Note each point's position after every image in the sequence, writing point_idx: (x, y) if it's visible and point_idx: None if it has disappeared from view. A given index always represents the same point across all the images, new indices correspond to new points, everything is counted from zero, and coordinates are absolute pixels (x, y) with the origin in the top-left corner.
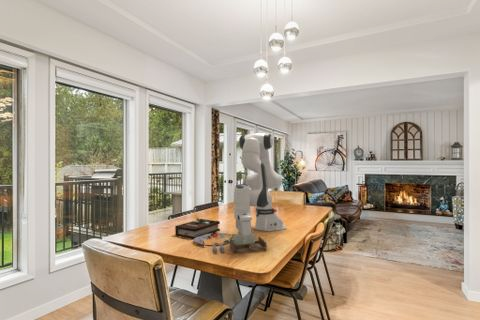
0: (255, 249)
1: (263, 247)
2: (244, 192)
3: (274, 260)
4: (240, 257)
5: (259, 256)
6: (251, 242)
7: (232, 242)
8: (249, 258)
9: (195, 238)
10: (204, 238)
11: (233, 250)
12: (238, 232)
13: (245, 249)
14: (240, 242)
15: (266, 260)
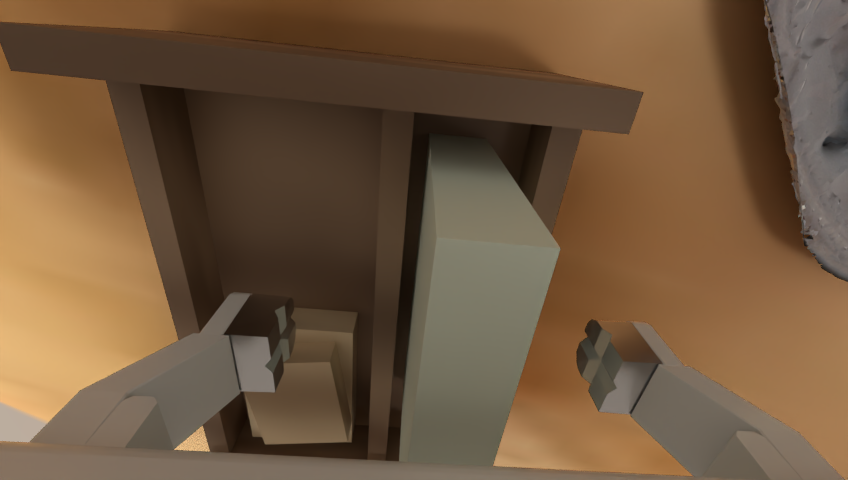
0: None
1: (207, 441)
2: None
3: (24, 396)
4: (100, 110)
5: (142, 326)
6: (404, 399)
7: (298, 67)
8: (64, 211)
9: None
10: None
11: (188, 35)
12: (731, 404)
13: (156, 243)
14: (419, 266)
15: (13, 343)
